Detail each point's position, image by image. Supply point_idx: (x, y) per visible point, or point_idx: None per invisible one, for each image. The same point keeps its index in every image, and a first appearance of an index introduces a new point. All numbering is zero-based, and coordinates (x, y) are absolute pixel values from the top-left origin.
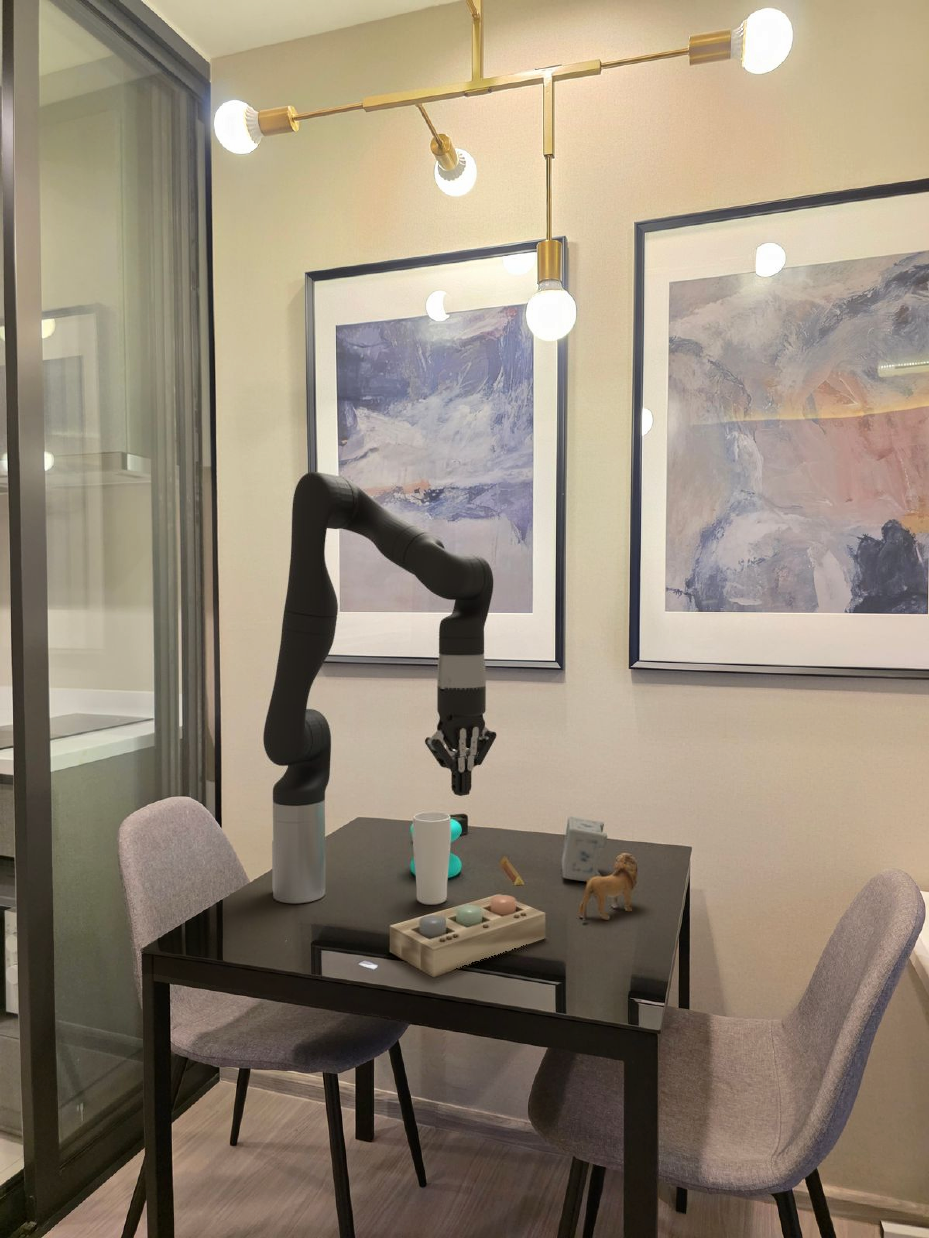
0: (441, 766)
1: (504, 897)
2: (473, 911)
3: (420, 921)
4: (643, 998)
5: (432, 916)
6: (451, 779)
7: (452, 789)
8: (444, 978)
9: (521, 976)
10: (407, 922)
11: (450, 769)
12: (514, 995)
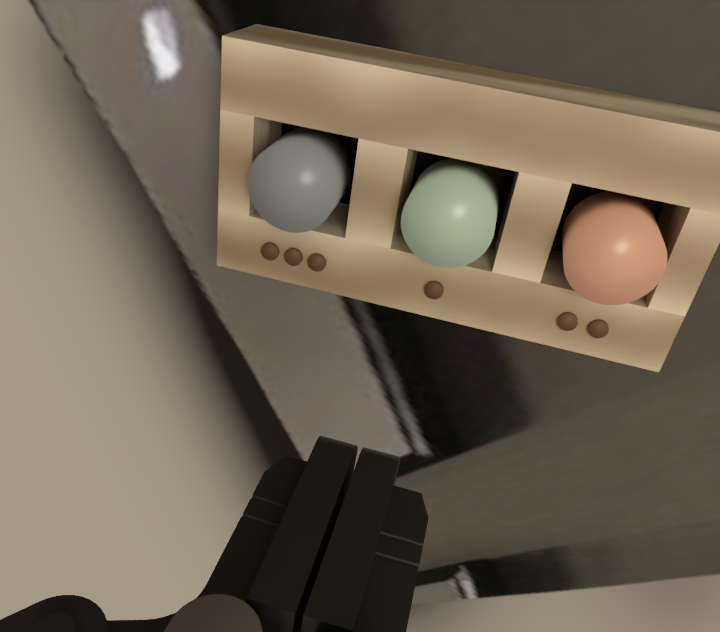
0: (47, 604)
1: (637, 254)
2: (442, 246)
3: (254, 165)
4: (475, 581)
5: (312, 167)
6: (235, 530)
7: (271, 472)
8: None
9: (396, 384)
10: (285, 63)
11: (164, 624)
12: (316, 411)
